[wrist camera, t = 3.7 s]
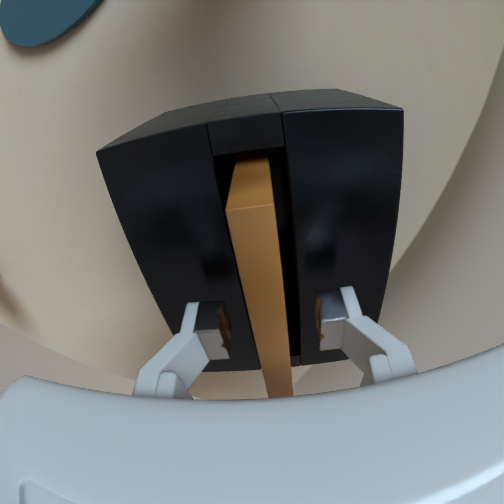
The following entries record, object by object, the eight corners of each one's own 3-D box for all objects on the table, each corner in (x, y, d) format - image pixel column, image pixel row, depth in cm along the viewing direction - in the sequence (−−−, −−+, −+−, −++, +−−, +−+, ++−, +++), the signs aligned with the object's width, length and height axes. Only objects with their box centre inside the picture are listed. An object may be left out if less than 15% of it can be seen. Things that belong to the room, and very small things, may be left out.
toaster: (337, 88, 15) (404, 108, 8) (339, 275, 24) (366, 364, 16) (164, 112, 16) (94, 152, 9) (212, 288, 25) (198, 379, 17)
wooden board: (263, 126, 15) (273, 203, 7) (282, 272, 21) (293, 398, 13) (242, 129, 15) (224, 210, 7) (265, 273, 21) (269, 401, 13)
